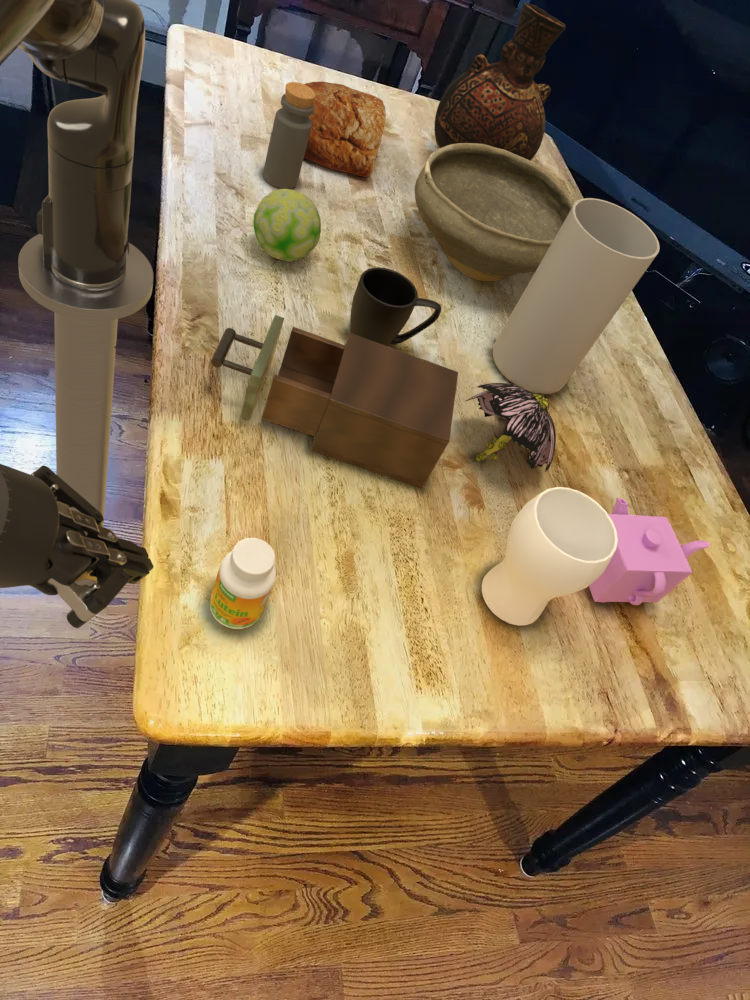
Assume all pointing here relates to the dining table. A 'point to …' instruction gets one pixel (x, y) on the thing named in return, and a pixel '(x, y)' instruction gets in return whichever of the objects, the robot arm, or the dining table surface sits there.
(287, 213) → the decorative ball
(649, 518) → the teapot
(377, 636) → the dining table surface
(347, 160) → the bread
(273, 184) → the bottle
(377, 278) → the mug
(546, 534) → the cup
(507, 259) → the bowl
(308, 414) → the drawer
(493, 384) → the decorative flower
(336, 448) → the cabinet
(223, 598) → the supplement bottle
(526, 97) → the ceramic vessel
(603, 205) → the cylinder vase
